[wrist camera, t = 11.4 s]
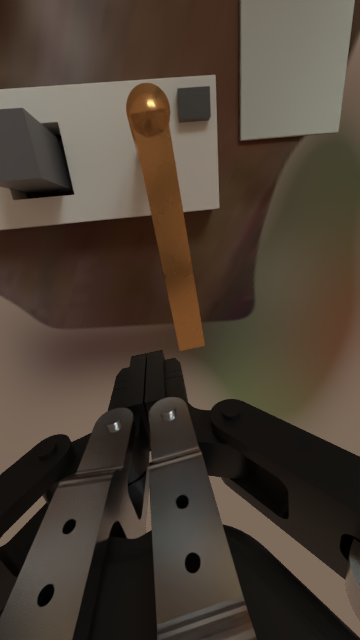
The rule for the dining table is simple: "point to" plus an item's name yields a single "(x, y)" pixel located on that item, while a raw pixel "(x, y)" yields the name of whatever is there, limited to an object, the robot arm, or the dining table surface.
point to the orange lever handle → (165, 206)
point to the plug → (31, 155)
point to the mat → (292, 66)
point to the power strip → (115, 150)
